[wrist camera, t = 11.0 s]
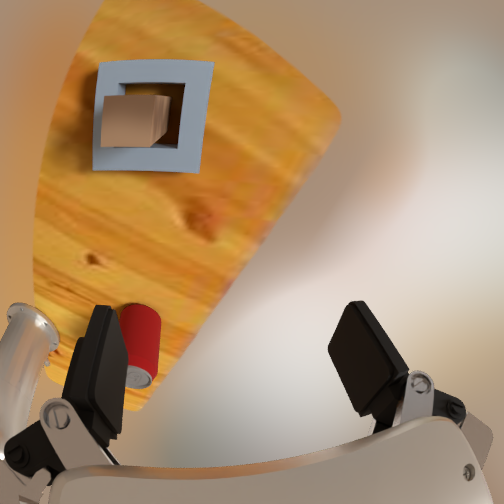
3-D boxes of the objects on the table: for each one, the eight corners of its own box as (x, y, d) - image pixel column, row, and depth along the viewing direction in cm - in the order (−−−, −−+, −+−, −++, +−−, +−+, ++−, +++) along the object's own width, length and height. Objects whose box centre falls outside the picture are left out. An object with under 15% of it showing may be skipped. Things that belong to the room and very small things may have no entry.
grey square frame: (199, 166, 30) (199, 173, 28) (101, 163, 27) (92, 170, 25) (213, 65, 24) (214, 62, 22) (108, 65, 21) (99, 62, 19)
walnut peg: (167, 131, 27) (149, 147, 18) (133, 130, 26) (100, 146, 17) (172, 97, 25) (155, 94, 16) (137, 96, 24) (104, 95, 15)
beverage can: (115, 319, 40) (101, 379, 30) (131, 293, 38) (117, 357, 28) (150, 335, 43) (144, 396, 33) (169, 313, 41) (165, 377, 31)
